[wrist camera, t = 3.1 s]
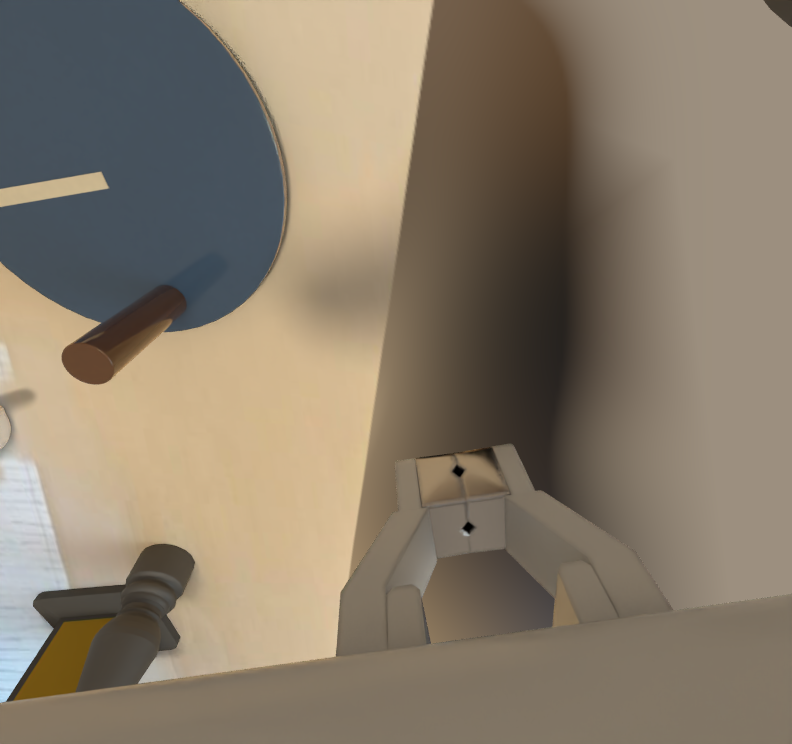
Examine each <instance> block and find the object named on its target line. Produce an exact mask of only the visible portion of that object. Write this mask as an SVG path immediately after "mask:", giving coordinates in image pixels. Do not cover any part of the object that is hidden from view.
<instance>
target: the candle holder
mask: <svg viewBox="0 0 792 744" xmlns="http://www.w3.org/2000/svg"><path fill="white" fill-rule="evenodd" d="M194 563H195V562H194V560H193V558H192V556H191V555H190V554H189V553H188V552H186V551H185V550H183V549H181V548H179V547H176V546H172V545H166V544H161V545H153V546H150V547H147V548H146V549H145V550H144V551H143V552H142V553H141V554H140V556H139V558H138V560H137V561H136V563H135V565H134V567H133V568H132V570H131V572H130V574H129V576H128V577H127V579H126V588H125V589H124V590H123V591H122V593H121V603H122V610H120V611H119V612H118V613H117V614H116V617H115V618H113V619H111V620H110V621H109V622H108V623H106V624H105V625H104V626H103V627H102V628H101V629H100V630H99V631H98V633H97V634H96V635H95V636H94V638H93V640H92V642H91V645H90V648H89V651H88V654H87V658H86V661H85V664H84V667H83V670H82V673H81V676H80V679H79V683H78V686H77V689H76V692H83V691H90V690H97V689H105V688H112V687H119V686H127V685H134V684H138V682H139V681H140V679H141V678H142V676H143V675H144V673H145V672H146V670H147V669H148V667H149V666H150V664H151V663H152V661H153V660H154V658H155V657H156V655H157V652H158V650H159V645H160V640H161V631H160V628H159V626H160V625H161V618H162V617H163V616H164V615H166V614H167V613H169V612H170V611H171V610H172V609H173V608H174V607H175V605H176V600H177V599H178V598H179V597H180V596H181V595H182V594H183V592H184V589H185V587H186V585H187V582H188V580H189V578H190V575H191V573H192V570H193V568H194Z"/></svg>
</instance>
